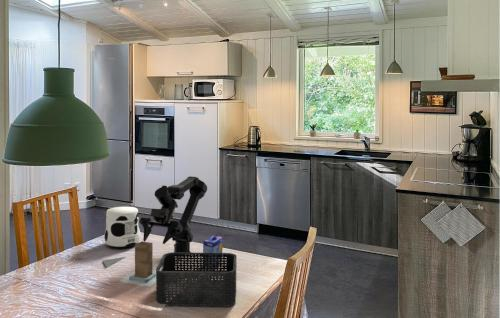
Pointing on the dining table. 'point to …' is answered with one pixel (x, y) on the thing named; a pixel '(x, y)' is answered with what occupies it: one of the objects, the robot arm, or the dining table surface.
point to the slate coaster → (112, 261)
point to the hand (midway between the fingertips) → (153, 242)
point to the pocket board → (140, 279)
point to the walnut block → (143, 259)
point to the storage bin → (204, 287)
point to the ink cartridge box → (213, 245)
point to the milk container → (122, 227)
